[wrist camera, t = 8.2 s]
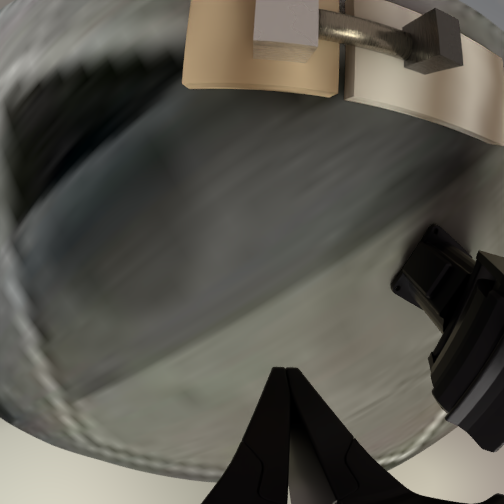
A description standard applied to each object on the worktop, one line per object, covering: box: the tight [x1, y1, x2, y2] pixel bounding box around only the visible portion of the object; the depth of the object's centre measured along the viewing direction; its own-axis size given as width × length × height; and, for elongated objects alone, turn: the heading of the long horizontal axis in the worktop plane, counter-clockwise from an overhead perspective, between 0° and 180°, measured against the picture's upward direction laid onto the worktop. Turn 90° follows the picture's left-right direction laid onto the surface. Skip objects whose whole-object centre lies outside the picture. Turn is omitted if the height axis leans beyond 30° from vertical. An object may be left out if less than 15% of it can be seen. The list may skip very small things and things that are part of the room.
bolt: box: [318, 8, 463, 75], centre depth 10 cm, size 10×3×5 cm, turn 87°
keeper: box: [253, 0, 319, 64], centre depth 11 cm, size 3×5×3 cm, turn 177°
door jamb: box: [182, 0, 504, 146], centre depth 14 cm, size 24×8×2 cm, turn 87°
